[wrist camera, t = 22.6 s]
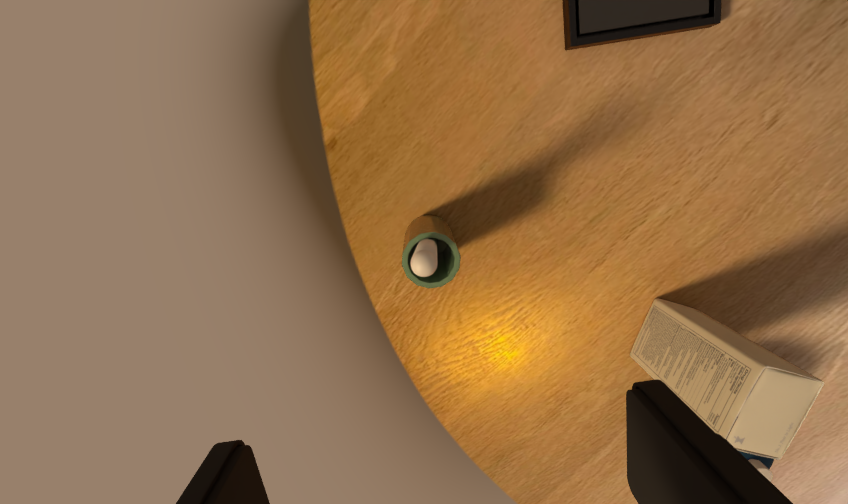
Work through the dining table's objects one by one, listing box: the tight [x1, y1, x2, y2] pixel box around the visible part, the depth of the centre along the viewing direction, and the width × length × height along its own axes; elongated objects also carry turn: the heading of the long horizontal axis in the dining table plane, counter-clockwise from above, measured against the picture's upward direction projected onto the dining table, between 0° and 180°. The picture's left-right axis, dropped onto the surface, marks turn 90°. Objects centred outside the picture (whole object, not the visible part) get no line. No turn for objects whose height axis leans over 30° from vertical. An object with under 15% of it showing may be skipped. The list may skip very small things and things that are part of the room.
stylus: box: [411, 238, 438, 277], centre depth 27 cm, size 1×1×14 cm
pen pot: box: [402, 215, 460, 288], centre depth 31 cm, size 4×4×7 cm
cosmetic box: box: [630, 298, 824, 460], centre depth 31 cm, size 6×4×12 cm
